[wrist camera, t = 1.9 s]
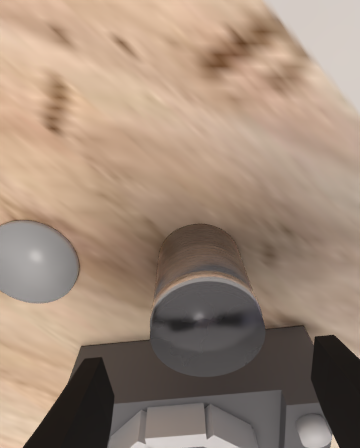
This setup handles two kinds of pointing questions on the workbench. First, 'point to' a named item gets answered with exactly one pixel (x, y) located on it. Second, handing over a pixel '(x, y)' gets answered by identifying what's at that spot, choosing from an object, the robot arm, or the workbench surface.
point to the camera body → (215, 398)
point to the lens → (204, 304)
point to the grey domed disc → (35, 262)
